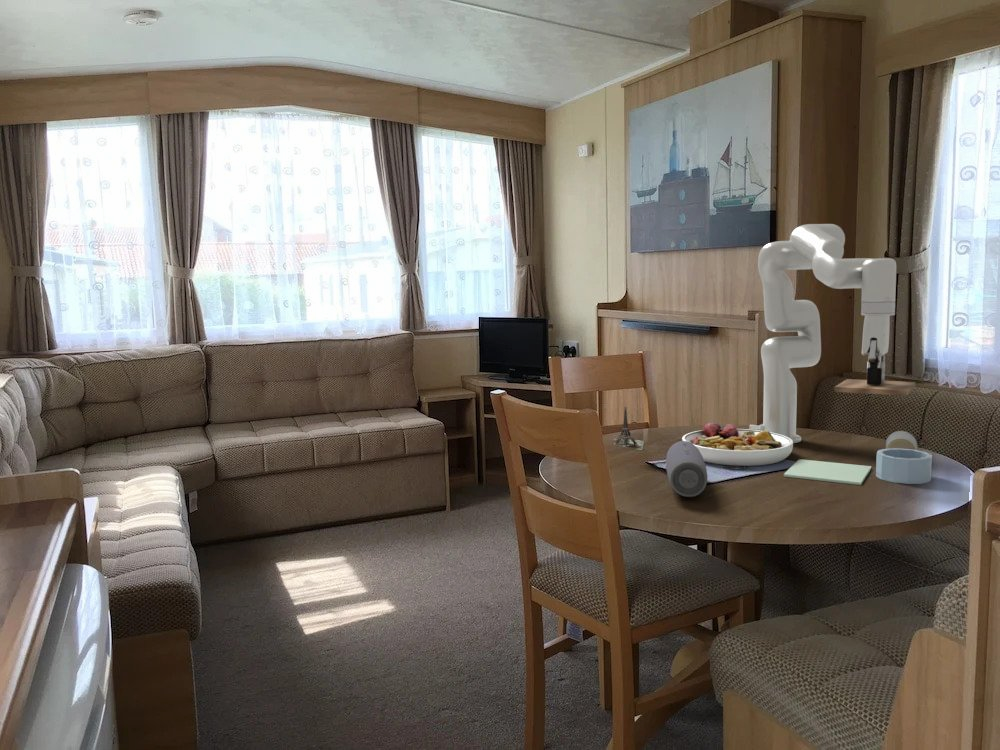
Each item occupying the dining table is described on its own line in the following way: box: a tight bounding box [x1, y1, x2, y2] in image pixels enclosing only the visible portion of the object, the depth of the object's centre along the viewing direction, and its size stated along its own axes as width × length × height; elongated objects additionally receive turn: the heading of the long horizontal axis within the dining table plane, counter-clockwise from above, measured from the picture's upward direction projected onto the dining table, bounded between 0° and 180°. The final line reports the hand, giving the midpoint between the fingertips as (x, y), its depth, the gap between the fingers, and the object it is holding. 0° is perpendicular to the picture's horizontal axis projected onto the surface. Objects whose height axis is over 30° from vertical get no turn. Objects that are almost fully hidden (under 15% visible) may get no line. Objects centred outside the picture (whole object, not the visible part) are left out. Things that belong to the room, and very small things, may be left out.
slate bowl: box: [875, 448, 933, 485], centre depth 198 cm, size 12×12×6 cm
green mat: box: [783, 458, 872, 486], centre depth 205 cm, size 18×18×1 cm
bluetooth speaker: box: [665, 440, 708, 498], centre depth 193 cm, size 23×9×10 cm, turn 170°
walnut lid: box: [833, 361, 917, 397], centre depth 198 cm, size 16×16×7 cm
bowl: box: [681, 421, 794, 467], centre depth 226 cm, size 30×30×8 cm
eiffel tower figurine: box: [613, 402, 645, 451], centre depth 243 cm, size 15×10×13 cm
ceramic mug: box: [885, 430, 920, 451], centre depth 213 cm, size 11×8×8 cm
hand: (875, 382), depth 198 cm, fingers closed on walnut lid, 4 cm apart
